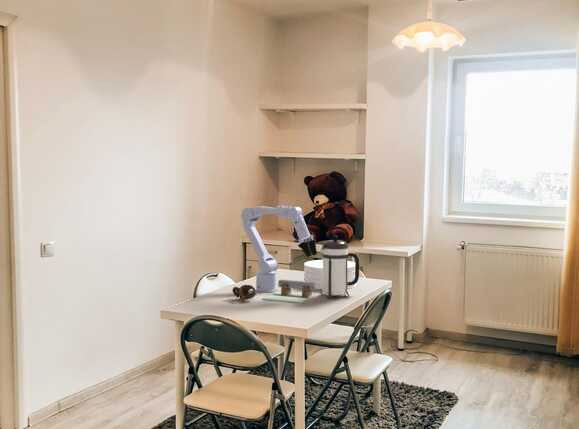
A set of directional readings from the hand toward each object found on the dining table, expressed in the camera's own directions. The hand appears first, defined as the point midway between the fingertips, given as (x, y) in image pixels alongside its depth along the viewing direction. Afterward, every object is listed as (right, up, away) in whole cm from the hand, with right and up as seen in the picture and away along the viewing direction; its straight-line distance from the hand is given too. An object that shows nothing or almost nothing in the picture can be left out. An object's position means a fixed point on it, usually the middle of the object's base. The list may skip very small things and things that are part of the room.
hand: (312, 255), depth 306 cm
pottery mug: (-33, -21, -7) cm, 40 cm away
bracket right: (-3, -20, +1) cm, 20 cm away
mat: (-13, -21, -7) cm, 25 cm away
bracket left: (-13, -19, +6) cm, 24 cm away
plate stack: (+11, -18, +29) cm, 36 cm away
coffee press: (+12, -20, +2) cm, 23 cm away
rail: (-8, -16, +3) cm, 18 cm away
